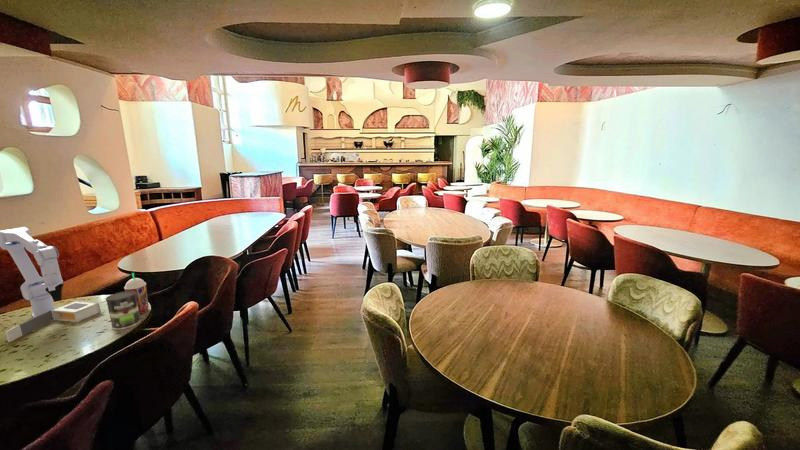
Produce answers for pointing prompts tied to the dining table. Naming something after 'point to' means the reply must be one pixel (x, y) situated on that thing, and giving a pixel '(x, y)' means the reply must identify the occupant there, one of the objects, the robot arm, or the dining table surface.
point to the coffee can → (123, 310)
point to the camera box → (76, 311)
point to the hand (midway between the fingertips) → (58, 300)
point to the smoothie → (138, 292)
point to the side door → (28, 325)
